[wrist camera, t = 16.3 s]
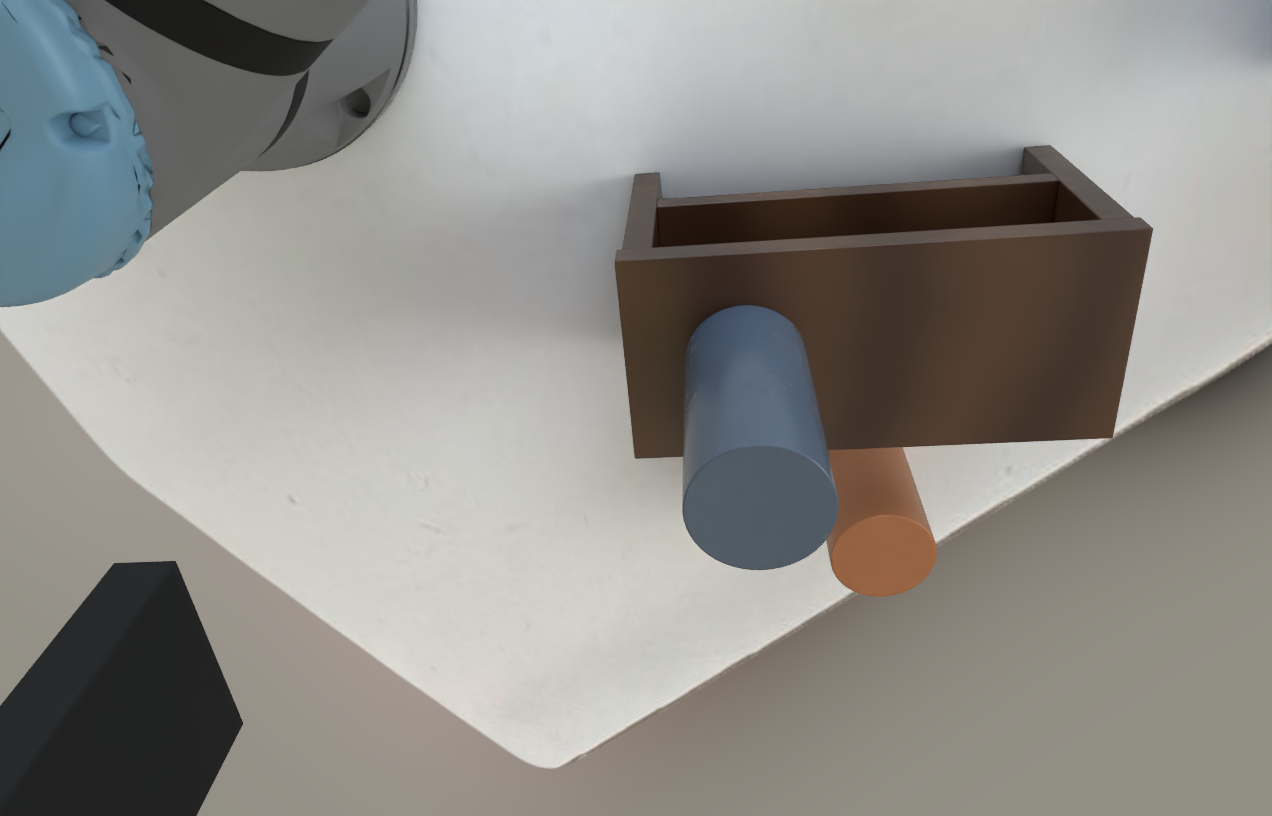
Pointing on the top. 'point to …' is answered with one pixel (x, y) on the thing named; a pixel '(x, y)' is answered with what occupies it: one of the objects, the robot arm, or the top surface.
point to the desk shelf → (898, 302)
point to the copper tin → (878, 523)
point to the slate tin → (754, 443)
